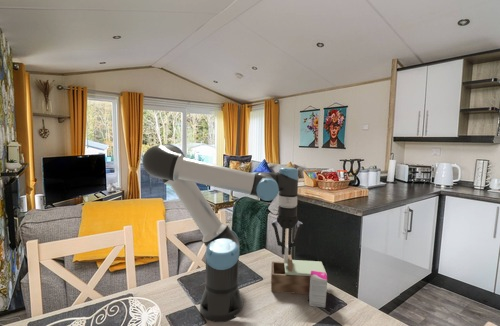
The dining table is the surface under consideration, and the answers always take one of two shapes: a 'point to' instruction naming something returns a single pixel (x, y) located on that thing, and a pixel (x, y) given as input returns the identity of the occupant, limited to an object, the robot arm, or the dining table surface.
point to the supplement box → (318, 289)
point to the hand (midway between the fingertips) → (285, 261)
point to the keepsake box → (288, 280)
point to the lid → (302, 267)
